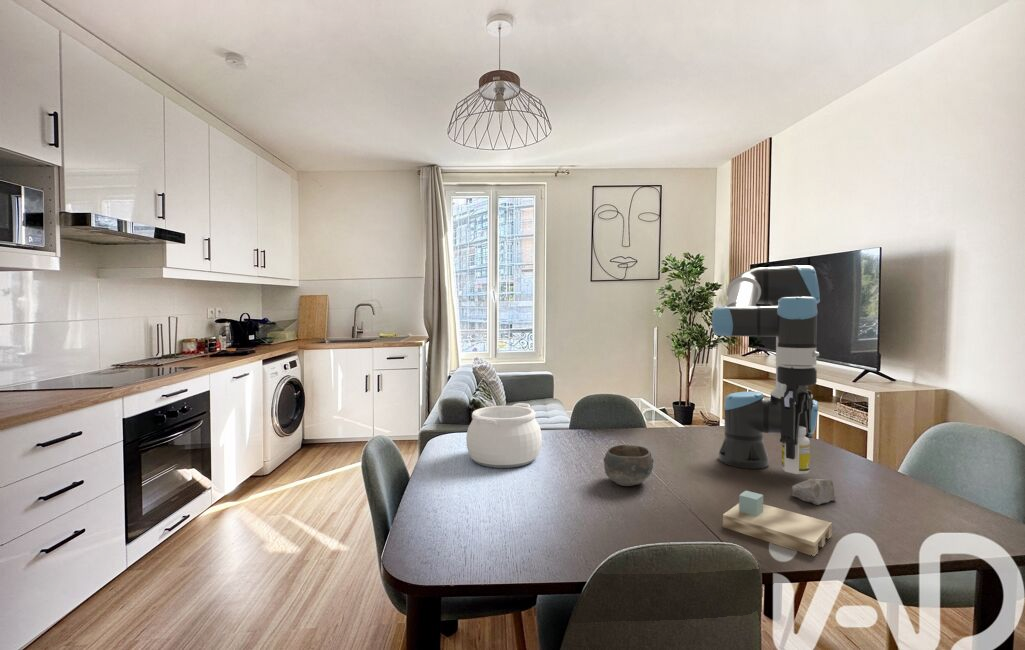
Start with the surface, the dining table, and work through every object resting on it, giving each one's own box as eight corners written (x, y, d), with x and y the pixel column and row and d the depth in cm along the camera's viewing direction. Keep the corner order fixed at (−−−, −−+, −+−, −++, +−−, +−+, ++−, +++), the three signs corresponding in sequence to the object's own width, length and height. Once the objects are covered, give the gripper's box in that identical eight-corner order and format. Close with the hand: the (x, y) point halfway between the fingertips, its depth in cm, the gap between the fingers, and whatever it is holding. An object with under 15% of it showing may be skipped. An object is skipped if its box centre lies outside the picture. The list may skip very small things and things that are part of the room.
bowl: (656, 478, 145) (656, 445, 145) (648, 496, 132) (648, 460, 131) (611, 472, 151) (611, 441, 151) (598, 489, 137) (598, 454, 137)
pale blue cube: (739, 511, 114) (739, 494, 114) (745, 506, 117) (745, 490, 117) (756, 516, 111) (756, 499, 111) (763, 511, 114) (763, 494, 114)
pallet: (722, 527, 113) (722, 514, 113) (744, 510, 121) (744, 499, 121) (814, 556, 99) (814, 542, 99) (831, 535, 108) (831, 522, 108)
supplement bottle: (776, 466, 109) (776, 424, 109) (798, 465, 110) (799, 423, 109) (792, 474, 104) (792, 430, 104) (815, 473, 104) (816, 429, 104)
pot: (515, 478, 147) (514, 423, 147) (448, 464, 161) (447, 414, 161) (556, 453, 172) (556, 406, 172) (496, 443, 186) (495, 399, 185)
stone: (817, 492, 133) (817, 472, 133) (842, 504, 125) (842, 482, 125) (786, 495, 131) (786, 474, 131) (809, 507, 123) (810, 485, 123)
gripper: (802, 371, 97) (802, 484, 98) (827, 363, 109) (827, 463, 110) (763, 368, 102) (763, 475, 103) (791, 361, 115) (791, 456, 116)
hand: (796, 468), depth 107 cm, fingers closed on supplement bottle, 5 cm apart
